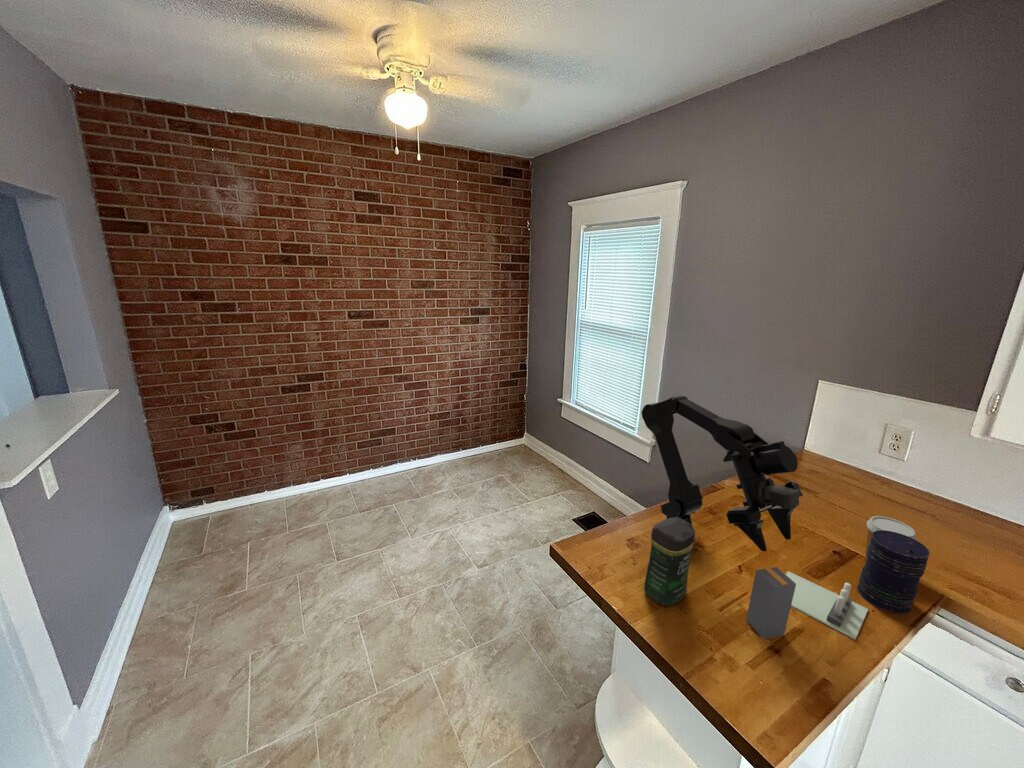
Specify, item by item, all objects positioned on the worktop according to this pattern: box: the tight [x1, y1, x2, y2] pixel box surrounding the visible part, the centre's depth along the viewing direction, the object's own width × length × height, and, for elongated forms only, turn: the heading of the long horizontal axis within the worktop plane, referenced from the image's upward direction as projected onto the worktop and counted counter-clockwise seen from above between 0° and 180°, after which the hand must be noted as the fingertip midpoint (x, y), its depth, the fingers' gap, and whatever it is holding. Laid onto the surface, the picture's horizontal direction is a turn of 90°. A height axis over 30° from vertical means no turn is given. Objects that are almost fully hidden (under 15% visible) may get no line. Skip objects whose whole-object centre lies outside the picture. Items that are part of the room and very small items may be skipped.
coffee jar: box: [643, 517, 696, 607], centre depth 96 cm, size 10×8×19 cm
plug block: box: [745, 566, 796, 640], centre depth 88 cm, size 5×5×13 cm
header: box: [784, 570, 869, 641], centre depth 96 cm, size 16×12×6 cm
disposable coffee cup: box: [864, 515, 918, 564], centre depth 107 cm, size 10×10×12 cm
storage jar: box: [857, 530, 930, 615], centre depth 96 cm, size 10×10×15 cm
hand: (776, 545), depth 95 cm, fingers open, 9 cm apart
